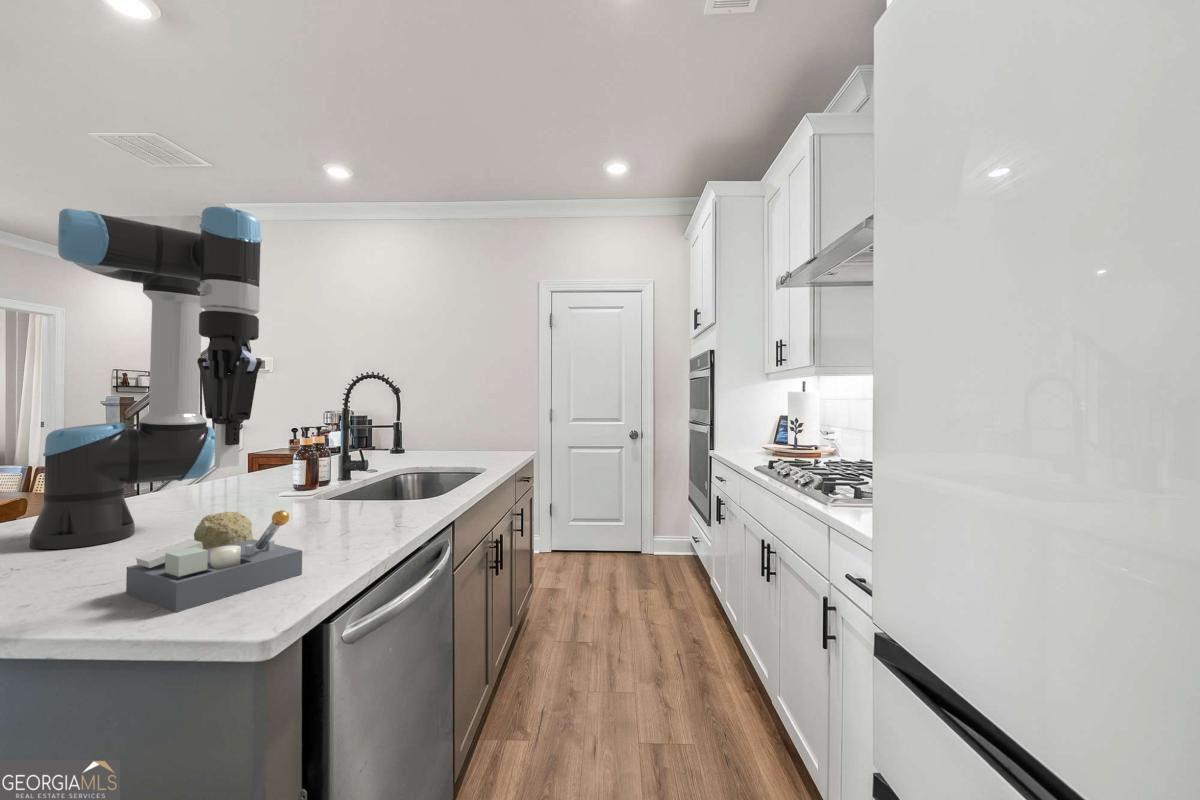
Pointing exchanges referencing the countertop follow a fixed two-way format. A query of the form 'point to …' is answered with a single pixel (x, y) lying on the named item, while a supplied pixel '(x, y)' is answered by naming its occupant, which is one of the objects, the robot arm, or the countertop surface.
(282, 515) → the lever
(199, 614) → the countertop surface
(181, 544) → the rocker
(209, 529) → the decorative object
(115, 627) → the countertop surface
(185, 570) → the button square
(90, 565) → the countertop surface
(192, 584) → the panel
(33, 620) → the countertop surface
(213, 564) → the button round
